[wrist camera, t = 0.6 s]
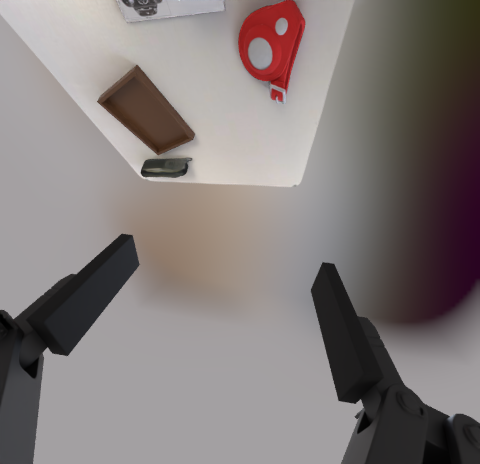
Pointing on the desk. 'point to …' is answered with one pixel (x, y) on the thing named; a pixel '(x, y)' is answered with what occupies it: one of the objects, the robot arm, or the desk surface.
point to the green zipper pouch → (165, 167)
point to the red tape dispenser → (272, 44)
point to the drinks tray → (146, 112)
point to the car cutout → (166, 8)
